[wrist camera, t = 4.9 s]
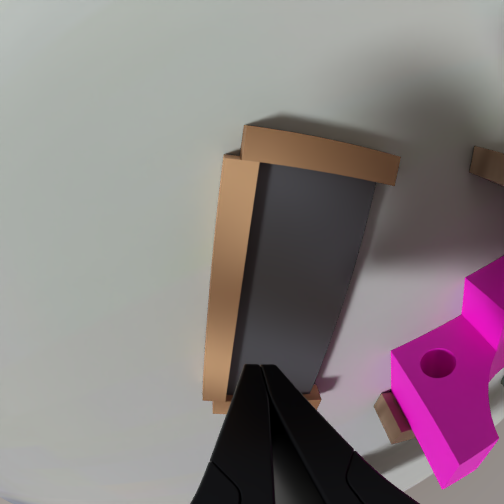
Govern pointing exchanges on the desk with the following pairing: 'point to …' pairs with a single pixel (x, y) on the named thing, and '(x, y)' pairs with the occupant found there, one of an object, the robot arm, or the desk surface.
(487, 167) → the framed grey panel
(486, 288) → the magenta curved bracket
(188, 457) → the desk surface
